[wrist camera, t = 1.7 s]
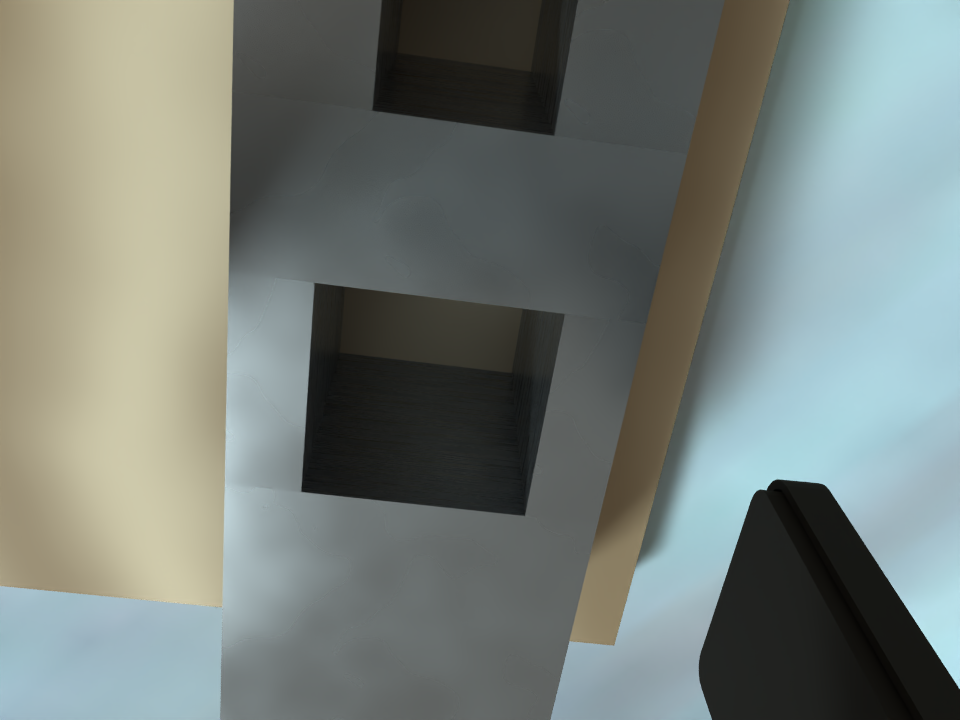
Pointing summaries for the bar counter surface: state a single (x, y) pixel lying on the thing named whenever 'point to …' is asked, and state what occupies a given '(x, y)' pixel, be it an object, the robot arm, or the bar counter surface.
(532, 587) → the grey rectangular block
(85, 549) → the board
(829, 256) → the bar counter surface
